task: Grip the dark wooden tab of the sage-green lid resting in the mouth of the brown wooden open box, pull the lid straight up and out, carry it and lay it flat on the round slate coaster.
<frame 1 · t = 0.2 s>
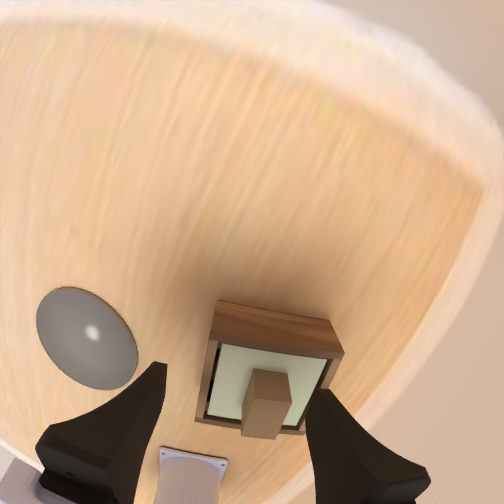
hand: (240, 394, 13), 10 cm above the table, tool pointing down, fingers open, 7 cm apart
brown wooden open box: (261, 357, 24), on the table
coaster: (84, 341, 24), on the table
lid: (263, 385, 21), point 4 cm above the table, touching brown wooden open box
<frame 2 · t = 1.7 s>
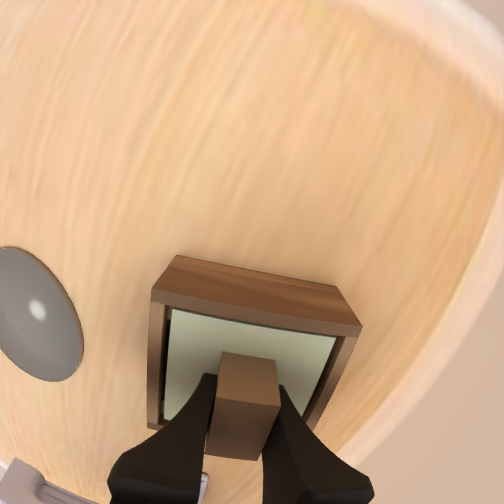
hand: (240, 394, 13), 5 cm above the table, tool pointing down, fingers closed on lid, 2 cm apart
brown wooden open box: (241, 341, 17), on the table
coaster: (25, 318, 17), on the table
lid: (240, 379, 14), point 4 cm above the table, touching gripper, brown wooden open box
when the fingers open (3 cm above the table, at t = 5.5 s): lid stays where it is, resting on coaster.
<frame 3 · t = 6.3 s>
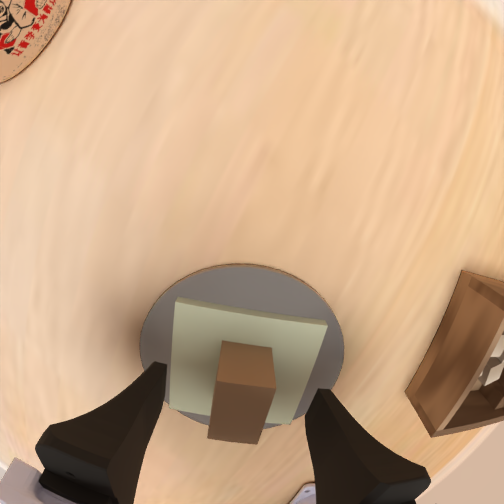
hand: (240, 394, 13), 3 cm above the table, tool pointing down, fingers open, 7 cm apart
brown wooden open box: (476, 340, 16), on the table
teacup with lid: (29, 6, 9), on the table
coaster: (241, 359, 16), on the table
lid: (240, 368, 15), point 1 cm above the table, touching coaster
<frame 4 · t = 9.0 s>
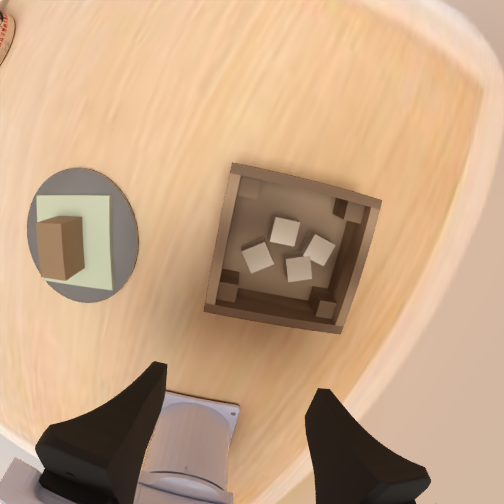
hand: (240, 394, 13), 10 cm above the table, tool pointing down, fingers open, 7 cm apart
brown wooden open box: (284, 239, 22), on the table
coaster: (78, 236, 21), on the table
lid: (74, 240, 21), point 1 cm above the table, touching coaster
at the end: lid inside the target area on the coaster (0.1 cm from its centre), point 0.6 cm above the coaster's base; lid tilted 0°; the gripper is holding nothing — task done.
